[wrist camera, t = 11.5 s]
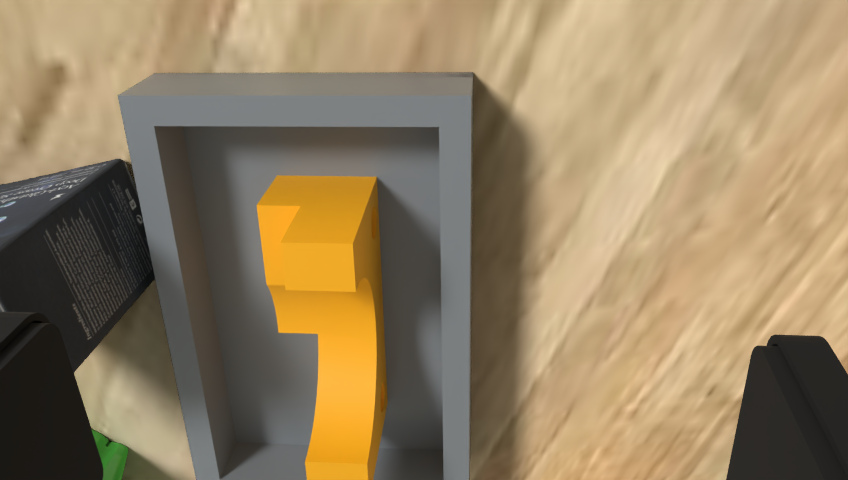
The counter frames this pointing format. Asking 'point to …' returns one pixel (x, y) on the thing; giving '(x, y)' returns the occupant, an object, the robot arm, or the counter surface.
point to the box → (74, 251)
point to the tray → (244, 267)
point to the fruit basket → (111, 457)
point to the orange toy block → (332, 309)
